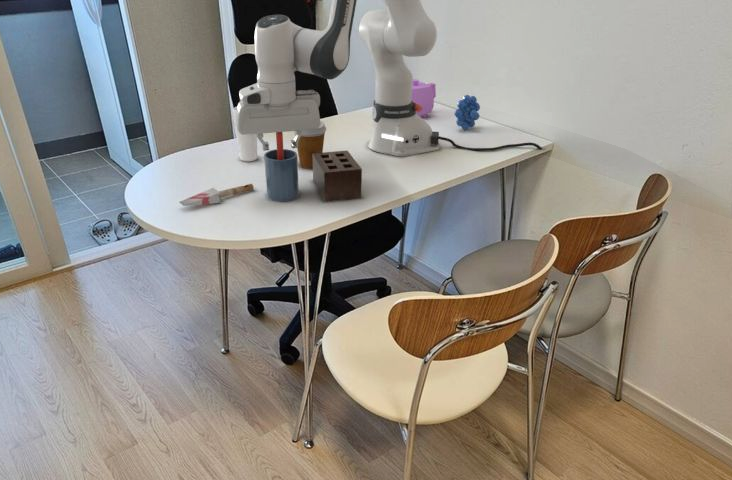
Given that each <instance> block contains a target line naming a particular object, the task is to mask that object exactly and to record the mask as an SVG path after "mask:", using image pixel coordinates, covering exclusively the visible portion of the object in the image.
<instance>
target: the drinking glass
mask: <svg viewBox="0 0 732 480" xmlns="http://www.w3.org/2000/svg"><path fill="white" fill-rule="evenodd" d="M236 115H237V106H235V107H233V108H232V120H233V127H234V131H235V138H236V143H237V148H238V149H237V150H238V154H239V159H240V160H241V161H243V162H254V161H256V160H257V159H258V156H259V155H258V137H257V134H248V135H241V134H240V133H239V132H238V130H237V121H236Z"/></svg>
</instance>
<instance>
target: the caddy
mask: <svg viewBox="0 0 732 480" xmlns="http://www.w3.org/2000/svg"><path fill="white" fill-rule="evenodd" d="M312 157H313V168H312V182H313V184H314V186H315V187H316V189H317V191H318V193H319V195H320V197H321V198H322V200H323V201H324V203H328V202H329V203H330V202H337V201H347V200H355V199H356V200H357V199H362V185H363V184H362V181H363V178H362V177H363V168H362V167H361V166H360V164H359V163H358V162H357V161H356V159H355V158H354V156H352V155H351V153H350V152H349V150H338V151H335V150H334V151H327V152H323V153H313V154H312Z"/></svg>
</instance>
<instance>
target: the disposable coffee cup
mask: <svg viewBox="0 0 732 480" xmlns="http://www.w3.org/2000/svg"><path fill="white" fill-rule="evenodd" d="M326 132H327V127H326V125H325V122H323V121H321V120H320V126H319V128H318V129H313V130H302V136H301V137H300V139H299V141H298V148H296V149H297V150H296V151H297V157H298V162H299V166H300V167H301V168H304V169H310V170H311V169H313V157H312V154H313V153H324V152H323V151H324V144H325V143H324V142H325V135H326V134H325V133H326ZM293 134H294V137H295V136H296V133H295V131H293Z"/></svg>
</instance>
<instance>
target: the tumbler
mask: <svg viewBox="0 0 732 480" xmlns="http://www.w3.org/2000/svg"><path fill="white" fill-rule="evenodd" d="M283 151H284V160H278V158H277V148H275V149H271V150H270V149H269V150H267V151H266V152H265V153H264V154H263V160H264V162H263V164H264V173H265V174H264V175H265V185H266V186H265V188H266V189H265V190H266V196H267V198H268V199H269V200H271V201H275V202H281V203H283V202H291V201H293V200H295V199H297V198H298V197H299V192H300V190H299V189H300V188H299V187H300V186H299V165H298V162H299V160H298V152H296V151H294V150H292V149H288V148H283Z"/></svg>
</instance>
